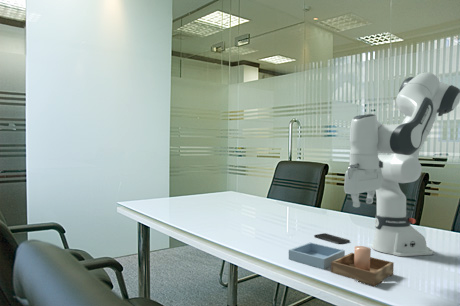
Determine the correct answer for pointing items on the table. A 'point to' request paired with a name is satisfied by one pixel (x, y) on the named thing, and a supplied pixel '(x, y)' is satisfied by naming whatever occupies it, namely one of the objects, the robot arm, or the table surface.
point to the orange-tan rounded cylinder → (362, 257)
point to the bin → (315, 255)
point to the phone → (332, 238)
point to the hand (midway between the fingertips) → (363, 205)
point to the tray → (372, 277)
